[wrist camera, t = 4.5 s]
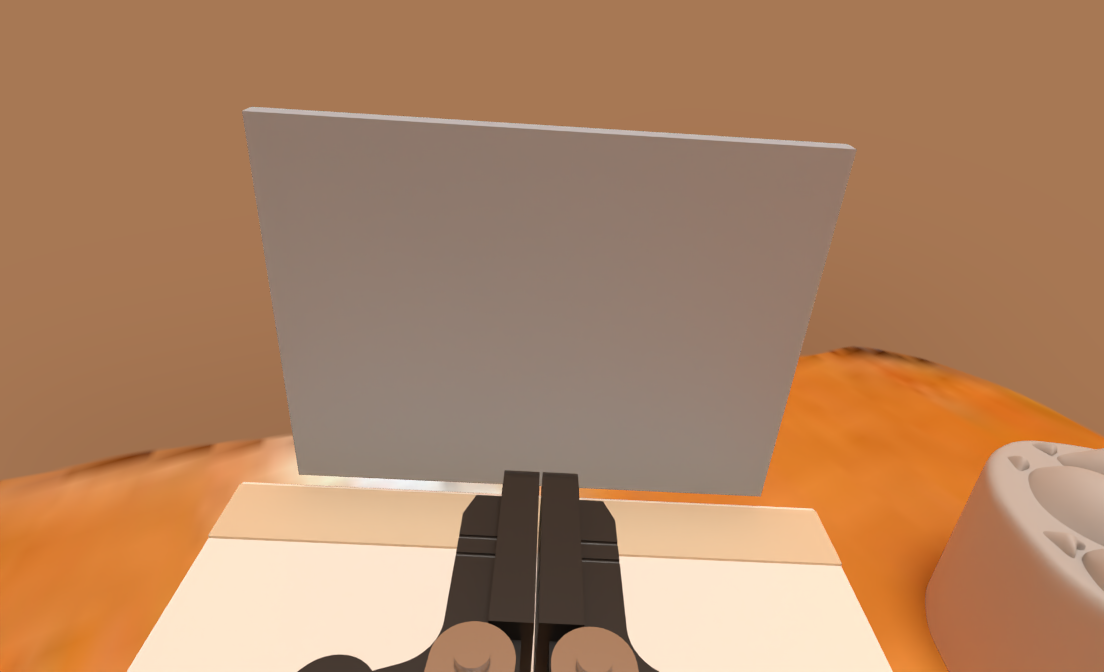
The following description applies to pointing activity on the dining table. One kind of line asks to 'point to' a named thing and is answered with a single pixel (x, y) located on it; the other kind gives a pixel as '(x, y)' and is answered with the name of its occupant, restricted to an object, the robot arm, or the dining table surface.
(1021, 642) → the paw print tray
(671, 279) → the flap
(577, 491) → the robot arm
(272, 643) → the carton
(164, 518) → the dining table surface
